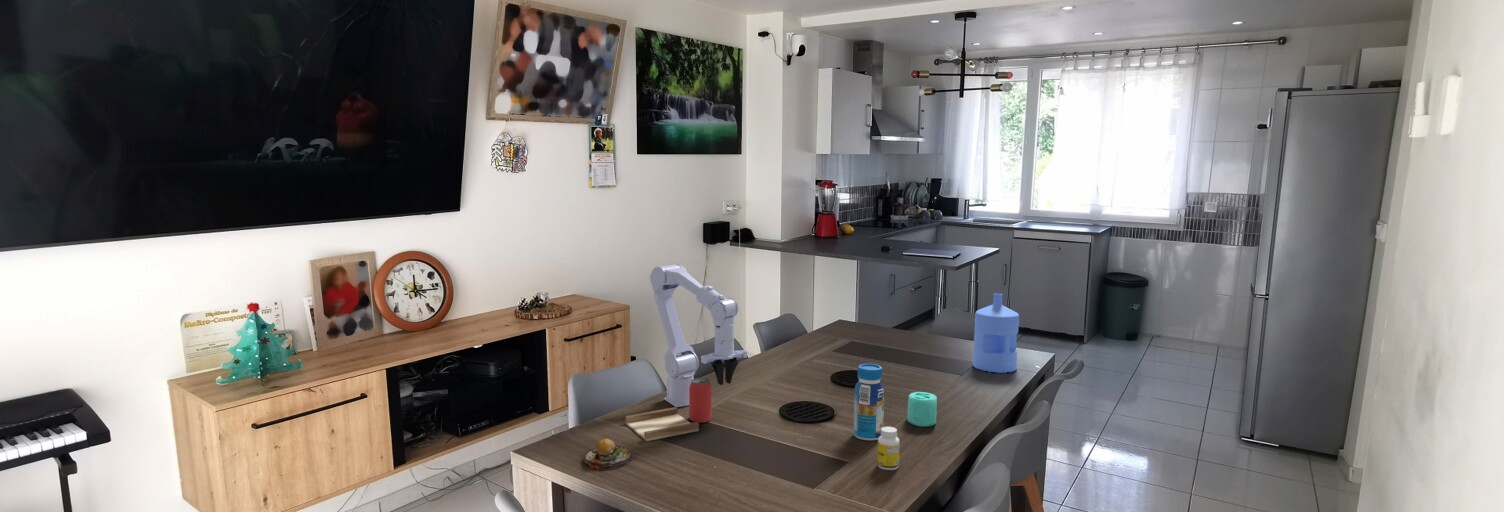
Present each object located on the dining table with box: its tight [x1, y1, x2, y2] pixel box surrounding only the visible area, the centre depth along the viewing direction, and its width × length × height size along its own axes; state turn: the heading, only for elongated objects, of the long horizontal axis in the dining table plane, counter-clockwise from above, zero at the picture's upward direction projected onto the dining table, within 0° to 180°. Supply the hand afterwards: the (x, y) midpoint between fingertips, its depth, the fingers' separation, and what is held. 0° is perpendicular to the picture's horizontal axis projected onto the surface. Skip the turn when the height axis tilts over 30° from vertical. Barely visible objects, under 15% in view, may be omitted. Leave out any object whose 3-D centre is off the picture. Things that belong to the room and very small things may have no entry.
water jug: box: [972, 292, 1020, 374], centre depth 278 cm, size 16×16×28 cm
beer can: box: [688, 377, 713, 424], centre depth 222 cm, size 7×7×12 cm
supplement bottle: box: [876, 426, 901, 471], centre depth 189 cm, size 5×5×10 cm
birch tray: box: [624, 406, 700, 442], centre depth 217 cm, size 16×16×2 cm
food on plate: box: [584, 437, 633, 470], centre depth 193 cm, size 12×12×8 cm
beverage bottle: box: [853, 363, 885, 442], centre depth 209 cm, size 8×8×20 cm
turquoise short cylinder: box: [907, 391, 938, 428], centre depth 221 cm, size 8×8×8 cm
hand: (724, 383), depth 226 cm, fingers open, 2 cm apart
